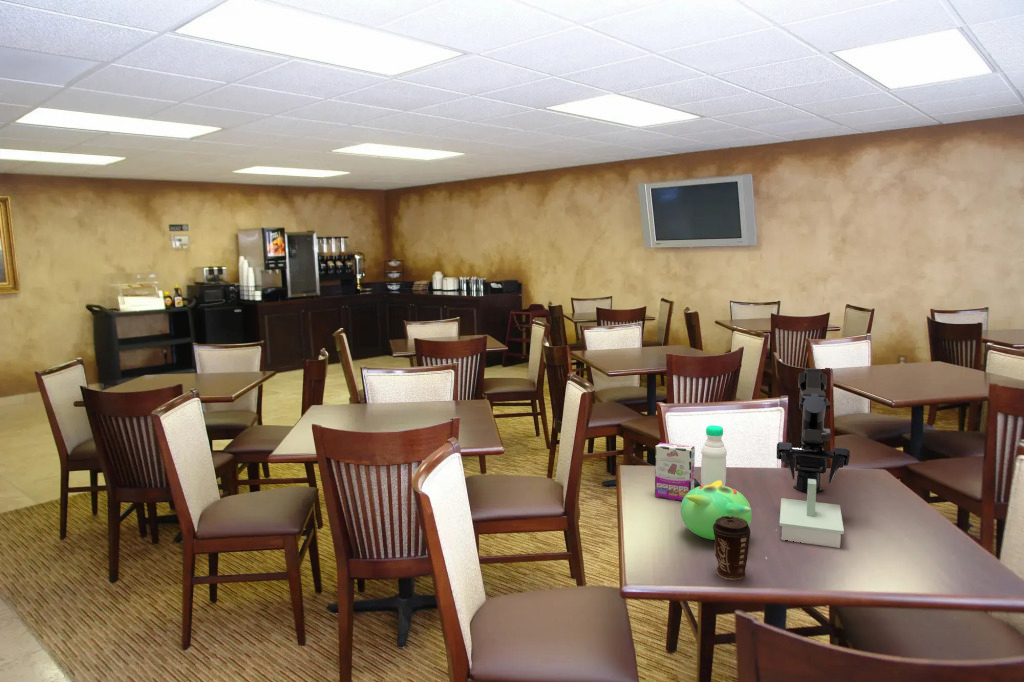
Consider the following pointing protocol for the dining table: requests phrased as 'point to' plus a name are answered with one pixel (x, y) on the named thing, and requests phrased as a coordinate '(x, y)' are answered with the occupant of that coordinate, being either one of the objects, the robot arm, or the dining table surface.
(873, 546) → the dining table surface
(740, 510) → the toy bird
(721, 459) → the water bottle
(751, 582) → the dining table surface
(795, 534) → the tub
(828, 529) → the lid
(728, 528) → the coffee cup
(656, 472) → the candy bar box
